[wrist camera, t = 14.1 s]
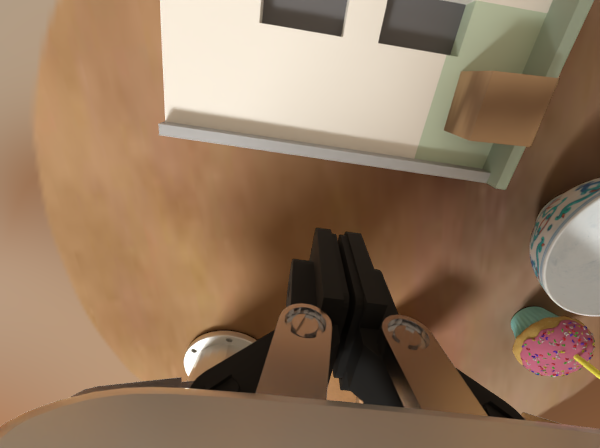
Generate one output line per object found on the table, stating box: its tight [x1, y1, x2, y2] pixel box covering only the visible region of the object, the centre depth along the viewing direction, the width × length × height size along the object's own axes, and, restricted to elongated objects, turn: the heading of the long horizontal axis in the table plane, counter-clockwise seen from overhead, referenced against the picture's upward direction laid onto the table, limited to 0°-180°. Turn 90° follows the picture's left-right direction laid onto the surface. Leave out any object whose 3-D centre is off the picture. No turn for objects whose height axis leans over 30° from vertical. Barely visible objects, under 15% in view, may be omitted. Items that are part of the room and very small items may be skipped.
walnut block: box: [444, 71, 560, 147], centre depth 26 cm, size 5×5×5 cm
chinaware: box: [530, 178, 600, 316], centre depth 32 cm, size 15×15×8 cm
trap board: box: [159, 0, 594, 190], centre depth 26 cm, size 15×32×5 cm, turn 82°
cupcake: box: [511, 306, 600, 379], centre depth 36 cm, size 9×8×12 cm
